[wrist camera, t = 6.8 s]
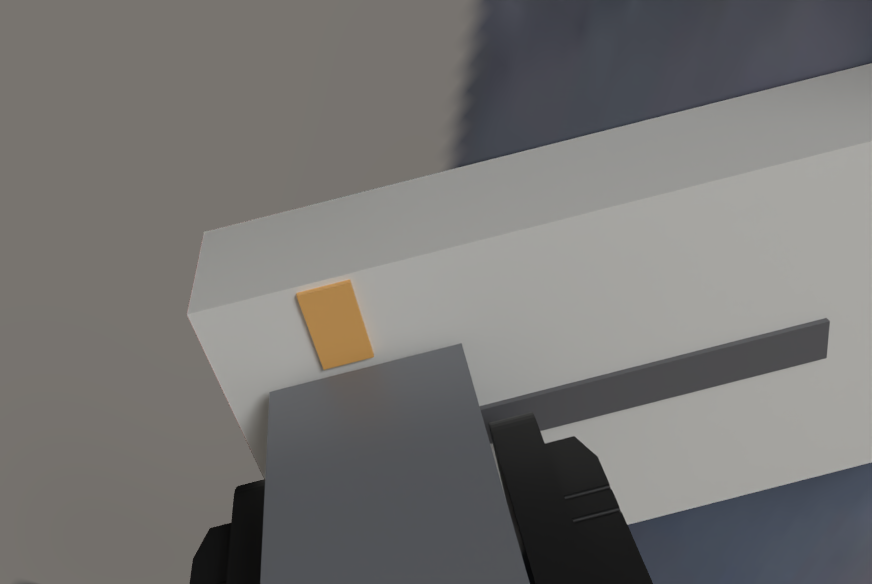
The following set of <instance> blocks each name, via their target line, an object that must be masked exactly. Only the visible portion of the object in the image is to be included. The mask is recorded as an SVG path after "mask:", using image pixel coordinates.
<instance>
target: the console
mask: <svg viewBox="0 0 872 584" xmlns="http://www.w3.org/2000/svg"><path fill="white" fill-rule="evenodd" d="M187 316H188V318H189V320H190V322H191V324H192V326H193V329H194V331H195V333H196V335H197V337H198V339H199V342H200V343H201V346H202V348H203V350H204V352H205V354H206V356H207V359H208V361H209V363H210V365H211V367H212V369H213V371H214V373H215V375H216V378H217V380H218V382H219V384H220V386H221V388H222V390H223V392H224V394H225V397H226V399H227V401H228V403H229V405H230V407H231V409H232V412H233V414H234V415H235V418H236V420H237V422H238V424H239V426H240V428H241V431H242V433H243V435H244V437H245V439H246V441H247V443H248V445H249V447H250V450H251V452H252V454H253V456H254V458H255V460H256V462H257V464H258V466H259V469H260V471H261V473H262V475H263V477H264V479H265V474H266V453H267V433H268V412H269V392H271V391H275V390H279V389H283V388H287V387H291V386H295V385H299V384H303V383H307V382H311V381H315V380H319V379H322V378H326V377H330V376H334V375H338V374H342V373H346V372H350V371H354V370H358V369H362V368H366V367H370V366H374V365H378V364H382V363H385V362H389V361H393V360H397V359H401V358H405V357H409V356H413V355H417V354H421V353H425V352H429V351H433V350H437V349H441V348H444V347H448V346H452V345H456V344H460V343H462V346H463V350H464V353H465V357H466V361H467V364H468V368H469V371H470V375H471V378H472V382H473V385H474V389H475V392H476V396H477V399H478V403H479V406H480V410H481V413H482V417H483V421H484V424H485V428H486V431H487V435H488V438H489V442H490V445H491V449H492V452H493V456H494V459H495V463H496V466H497V470H498V473H499V477H500V472H499V468H498V464H497V459H496V455H495V451H494V446H493V442H492V438H491V433H490V429H489V424H488V423H490V422H494V421H498V420H502V419H506V418H510V417H514V416H518V415H522V414H526V413H530V412H533V414H534V416H535V418H536V421H537V424H538V426H539V429H540V432H541V435H542V437H543V440H544V443H549V442H553V441H557V440H561V439H565V438H569V437H572V436H575V437H576V438H577V439H578V440H579V441H580V442H582V443H583V444H584V445H585V446H586V447H587V448H588V449H590V450H591V451H592V452H593V453H594V454H595V455H596V456H598V459H599V461H600V463H601V465H602V468H603V470H604V472H605V475H606V477H607V479H608V482H609V484H610V488H611V489H612V491H613V493H614V495H615V498H616V500H617V502H618V505H619V508H620V511H621V512H622V514H623V516H624V518H625V521H626V523H627V525H628V524H632V523H636V522H640V521H644V520H648V519H652V518H656V517H660V516H664V515H667V514H671V513H675V512H679V511H683V510H687V509H691V508H695V507H699V506H703V505H707V504H711V503H714V502H718V501H722V500H726V499H730V498H734V497H738V496H742V495H746V494H750V493H754V492H757V491H761V490H765V489H769V488H773V487H777V486H781V485H785V484H789V483H793V482H797V481H800V480H804V479H808V478H812V477H816V476H820V475H824V474H828V473H832V472H836V471H840V470H843V469H847V468H851V467H855V466H859V465H863V464H867V463H871V462H872V63H870V64H866V65H862V66H858V67H855V68H851V69H847V70H843V71H839V72H835V73H831V74H827V75H823V76H819V77H815V78H811V79H807V80H803V81H799V82H795V83H791V84H787V85H783V86H779V87H775V88H771V89H768V90H764V91H760V92H756V93H752V94H748V95H744V96H740V97H736V98H732V99H728V100H724V101H720V102H716V103H712V104H708V105H704V106H700V107H696V108H692V109H688V110H685V111H681V112H677V113H673V114H669V115H665V116H661V117H657V118H653V119H649V120H645V121H641V122H637V123H633V124H629V125H625V126H621V127H617V128H613V129H609V130H605V131H601V132H598V133H594V134H590V135H586V136H582V137H578V138H574V139H570V140H566V141H562V142H558V143H554V144H550V145H546V146H542V147H538V148H534V149H530V150H526V151H522V152H518V153H515V154H511V155H507V156H503V157H499V158H495V159H491V160H487V161H483V162H479V163H475V164H471V165H467V166H463V167H459V168H455V169H451V170H447V171H443V172H439V173H436V174H432V175H428V176H424V177H420V178H416V179H412V180H408V181H404V182H400V183H396V184H392V185H388V186H384V187H380V188H376V189H372V190H368V191H364V192H360V193H357V194H353V195H348V196H345V197H341V198H337V199H333V200H329V201H325V202H321V203H317V204H313V205H309V206H305V207H301V208H297V209H293V210H289V211H286V212H281V213H277V214H274V215H269V216H265V217H261V218H258V219H254V220H250V221H246V222H242V223H238V224H234V225H230V226H226V227H222V228H218V229H214V230H210V231H207V232H204V234H203V239H202V243H201V249H200V253H199V258H198V263H197V268H196V273H195V277H194V282H193V287H192V292H191V297H190V301H189V306H188V312H187ZM500 480H501V477H500ZM501 484H502V481H501ZM502 488H503V485H502ZM503 491H504V490H503ZM504 495H505V494H504Z"/></svg>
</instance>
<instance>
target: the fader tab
mask: <svg viewBox="0 0 872 584" xmlns="http://www.w3.org/2000/svg"><path fill="white" fill-rule="evenodd" d="M260 584H530V583H529V579H528V576H527V572H526V569H525V565H524V562H523V558H522V555H521V551H520V547H519V544H518V540H517V537H516V533H515V530H514V526H513V523H512V519H511V516H510V512H509V509H508V505H507V502H506V498H505V495H504V491H503V488H502V484H501V480H500V477H499V473H498V470H497V466H496V463H495V459H494V456H493V452H492V449H491V445H490V442H489V438H488V435H487V431H486V428H485V424H484V421H483V417H482V413H481V410H480V406H479V403H478V399H477V396H476V392H475V389H474V385H473V382H472V378H471V375H470V371H469V368H468V364H467V361H466V357H465V353H464V350H463V346H462V343H460V344H456V345H452V346H448V347H444V348H441V349H437V350H433V351H429V352H425V353H421V354H417V355H413V356H409V357H405V358H401V359H397V360H393V361H389V362H385V363H382V364H378V365H374V366H370V367H366V368H362V369H358V370H354V371H350V372H346V373H342V374H338V375H334V376H330V377H326V378H322V379H319V380H315V381H311V382H307V383H303V384H299V385H295V386H291V387H287V388H283V389H279V390H275V391H271V392H269V412H268V433H267V453H266V474H265V495H264V516H263V537H262V557H261V578H260Z"/></svg>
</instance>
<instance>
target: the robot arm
mask: <svg viewBox="0 0 872 584" xmlns="http://www.w3.org/2000/svg"><path fill="white" fill-rule="evenodd" d="M488 424H489V429H490V433H491V438H492V442H493V446H494V451H495V455H496V459H497V464H498V468H499V472H500V477H501V481H502V485H503V490H504V494H505V498H506V502H507V505H508V509H509V512H510V516H511V519H512V523H513V526H514V530H515V533H516V537H517V540H518V544H519V547H520V551H521V555H522V558H523V562H524V565H525V569H526V572H527V576H528V579H529V583H530V584H653V583H652V580H651V578H650V576H649V574H648V571H647V569H646V567H645V564H644V562H643V560H642V557H641V555H640V553H639V551H638V548H637V546H636V544H635V541H634V539H633V537H632V534H631V532H630V530H629V528H628V525H627V523H626V521H625V518H624V516H623V514H622V512H621V511H620V508H619V505H618V502H617V500H616V498H615V495H614V493H613V491H612V489H611V488H610V484H609V482H608V479H607V477H606V475H605V472H604V470H603V468H602V465H601V463H600V461H599V459H598V456H596V455H595V454H594V453H593V452H592V451H591V450H590V449H588V448H587V447H586V446H585V445H584V444H583V443H582V442H580V441H579V440H578V439H577V438H576V437H575V436H572V437H569V438H565V439H561V440H557V441H553V442H549V443H544V440H543V437H542V435H541V432H540V429H539V426H538V424H537V421H536V418H535V416H534V414H533V412H530V413H526V414H522V415H518V416H514V417H510V418H506V419H502V420H498V421H494V422H490V423H488ZM264 495H265V479H264V480H260V481H256V482H252V483H248V484H245V485H241V486H238V487H237V488H236V489H235V493H234V502H233V513H232V523H229V524H225V525H221V526H217V527H213V528H210V529H209V531H208V533H207V534H206V536H205V538H204V540H203V542H202V544H201V546H200V547H199V549H198V551H197V553H196V555H195V556H194V558H193V564H192V571H191V578H190V584H260V578H261V557H262V537H263V516H264Z"/></svg>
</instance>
